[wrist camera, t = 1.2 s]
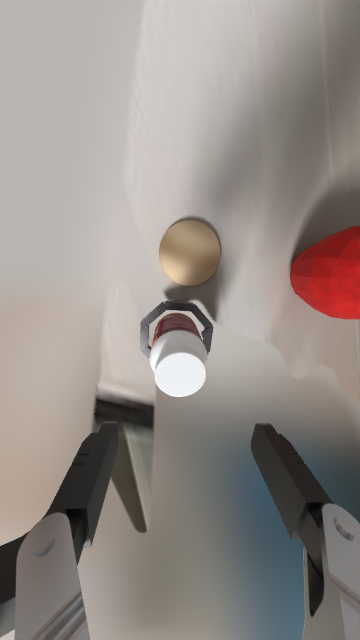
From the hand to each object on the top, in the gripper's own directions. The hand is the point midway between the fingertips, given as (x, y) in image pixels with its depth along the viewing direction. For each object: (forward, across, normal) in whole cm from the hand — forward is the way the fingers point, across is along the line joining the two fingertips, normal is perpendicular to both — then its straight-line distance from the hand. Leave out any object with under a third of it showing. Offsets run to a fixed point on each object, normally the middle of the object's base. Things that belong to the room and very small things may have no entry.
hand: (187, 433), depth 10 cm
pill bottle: (+17, 0, 0) cm, 17 cm away
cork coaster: (+16, -1, -11) cm, 20 cm away
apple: (+17, -18, -10) cm, 27 cm away
